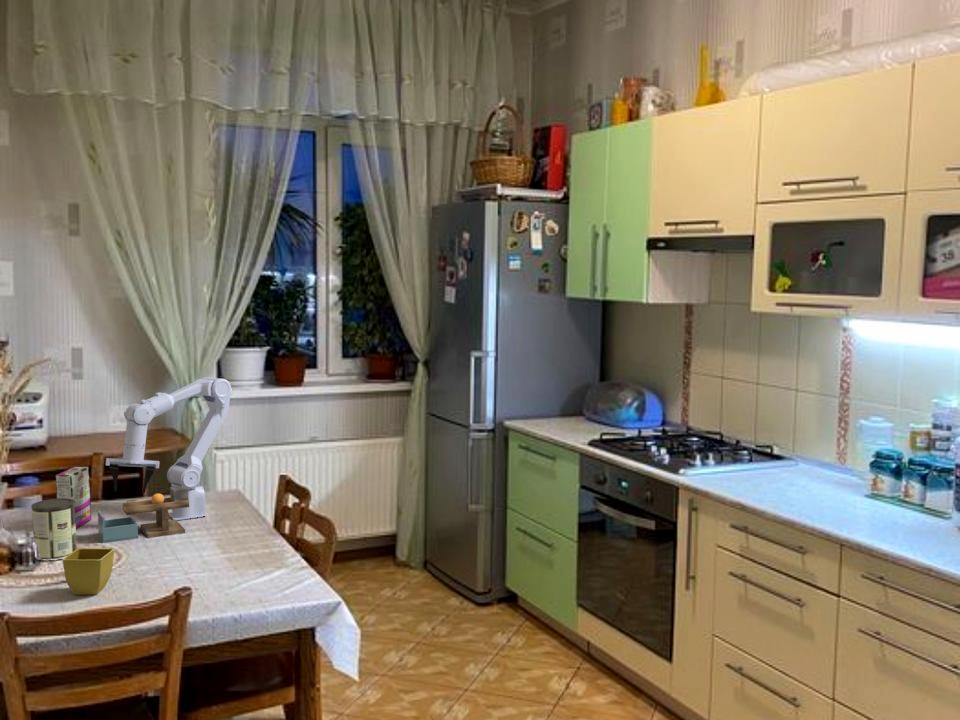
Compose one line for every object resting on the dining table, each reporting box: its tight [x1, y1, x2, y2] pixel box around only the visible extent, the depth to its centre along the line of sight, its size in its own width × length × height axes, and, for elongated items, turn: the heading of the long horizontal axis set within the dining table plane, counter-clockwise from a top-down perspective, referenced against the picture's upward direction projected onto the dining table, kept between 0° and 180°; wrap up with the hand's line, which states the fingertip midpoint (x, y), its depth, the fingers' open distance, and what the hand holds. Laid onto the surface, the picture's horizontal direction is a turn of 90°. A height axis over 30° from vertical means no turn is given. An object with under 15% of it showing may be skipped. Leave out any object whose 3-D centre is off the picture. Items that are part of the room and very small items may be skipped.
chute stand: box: [139, 507, 186, 539], centre depth 256 cm, size 10×12×8 cm
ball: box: [150, 493, 165, 504], centre depth 255 cm, size 4×4×4 cm
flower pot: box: [62, 547, 115, 595], centre depth 206 cm, size 9×9×9 cm
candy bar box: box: [55, 466, 92, 530], centre depth 261 cm, size 11×5×16 cm, turn 179°
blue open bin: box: [97, 510, 139, 544], centre depth 250 cm, size 9×9×7 cm
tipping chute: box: [122, 486, 189, 516], centre depth 258 cm, size 17×12×5 cm
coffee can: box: [31, 498, 78, 560], centre depth 233 cm, size 10×10×14 cm
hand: (129, 491), depth 259 cm, fingers open, 7 cm apart
